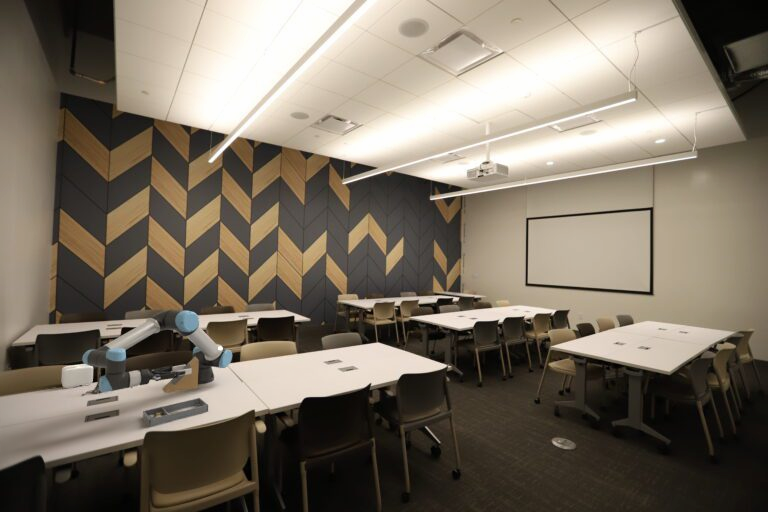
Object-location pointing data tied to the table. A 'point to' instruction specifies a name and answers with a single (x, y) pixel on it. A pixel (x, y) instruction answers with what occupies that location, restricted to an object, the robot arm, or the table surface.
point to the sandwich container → (184, 379)
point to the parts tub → (162, 416)
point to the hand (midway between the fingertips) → (188, 368)
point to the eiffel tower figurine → (96, 390)
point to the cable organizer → (76, 375)
